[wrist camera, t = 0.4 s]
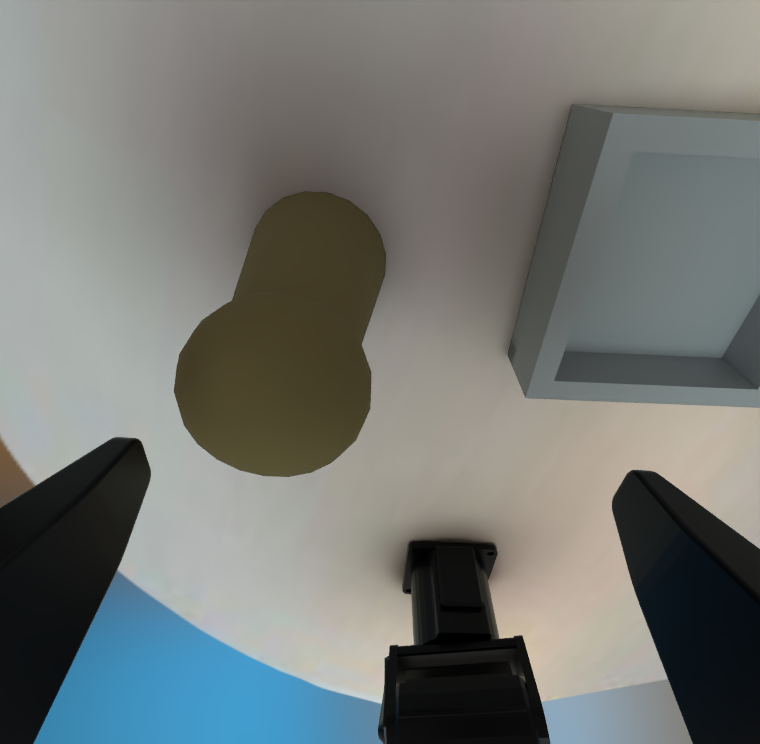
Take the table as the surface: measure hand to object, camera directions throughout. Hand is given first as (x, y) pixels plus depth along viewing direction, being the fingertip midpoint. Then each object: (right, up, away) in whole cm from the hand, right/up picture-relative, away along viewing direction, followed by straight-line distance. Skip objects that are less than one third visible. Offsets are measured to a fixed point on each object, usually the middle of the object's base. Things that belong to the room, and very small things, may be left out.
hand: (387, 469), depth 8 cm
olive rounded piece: (-3, +7, +12) cm, 14 cm away
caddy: (+17, +7, +11) cm, 22 cm away
